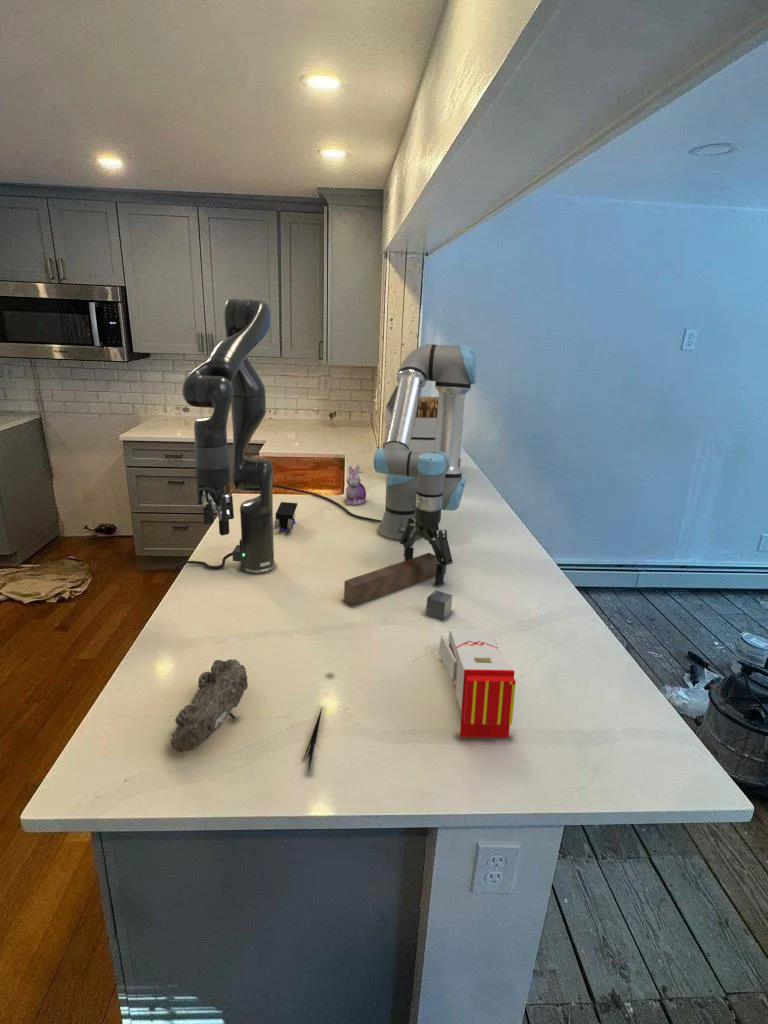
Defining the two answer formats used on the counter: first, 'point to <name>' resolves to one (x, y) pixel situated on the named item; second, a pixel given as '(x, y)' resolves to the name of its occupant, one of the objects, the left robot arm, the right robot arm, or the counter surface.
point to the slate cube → (439, 604)
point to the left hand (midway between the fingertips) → (216, 528)
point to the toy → (479, 682)
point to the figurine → (355, 488)
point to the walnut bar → (389, 579)
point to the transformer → (420, 424)
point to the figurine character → (285, 516)
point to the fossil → (210, 704)
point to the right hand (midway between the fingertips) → (423, 575)
